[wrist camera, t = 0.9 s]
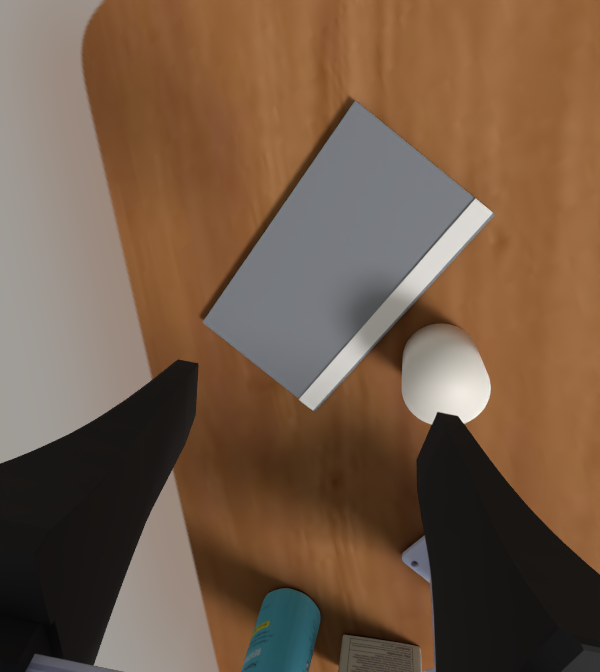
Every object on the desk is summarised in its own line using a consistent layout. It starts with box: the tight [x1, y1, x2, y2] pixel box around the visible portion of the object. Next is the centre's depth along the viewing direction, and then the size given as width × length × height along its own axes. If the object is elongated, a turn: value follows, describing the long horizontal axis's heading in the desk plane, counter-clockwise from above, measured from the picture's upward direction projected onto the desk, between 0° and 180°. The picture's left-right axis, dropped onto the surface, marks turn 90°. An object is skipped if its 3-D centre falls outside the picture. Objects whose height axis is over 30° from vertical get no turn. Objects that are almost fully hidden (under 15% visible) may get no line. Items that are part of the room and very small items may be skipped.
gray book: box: [203, 100, 495, 411], centre depth 27 cm, size 10×16×1 cm, turn 144°
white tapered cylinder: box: [402, 323, 491, 425], centre depth 26 cm, size 4×4×4 cm
